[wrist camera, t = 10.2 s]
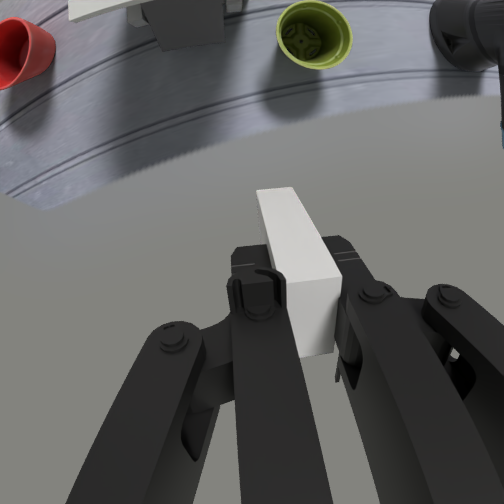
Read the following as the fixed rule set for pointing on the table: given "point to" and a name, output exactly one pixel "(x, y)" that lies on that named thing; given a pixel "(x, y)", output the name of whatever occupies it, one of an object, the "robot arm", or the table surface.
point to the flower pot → (23, 51)
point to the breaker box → (96, 3)
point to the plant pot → (324, 41)
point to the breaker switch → (185, 22)
